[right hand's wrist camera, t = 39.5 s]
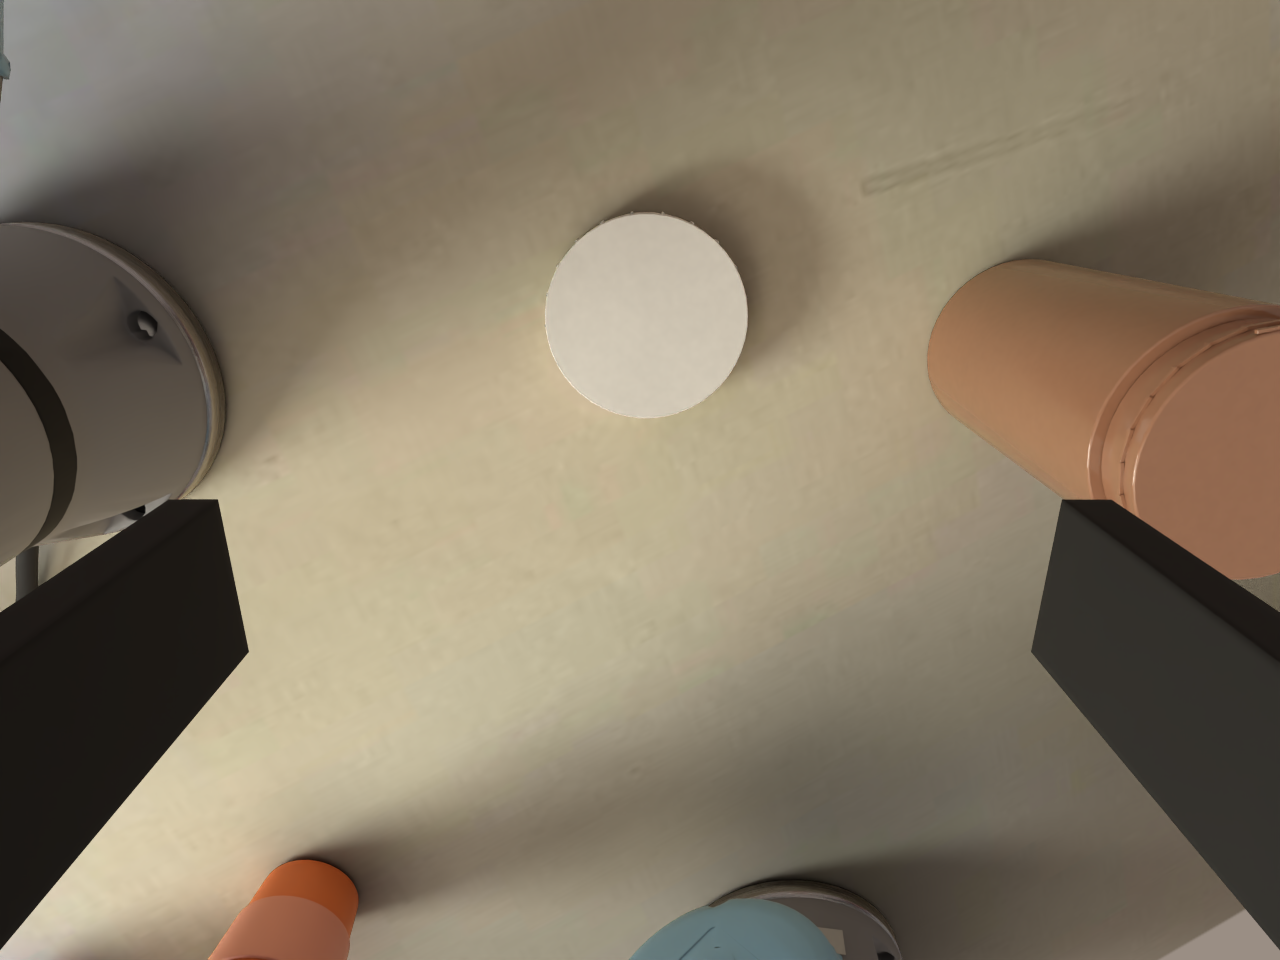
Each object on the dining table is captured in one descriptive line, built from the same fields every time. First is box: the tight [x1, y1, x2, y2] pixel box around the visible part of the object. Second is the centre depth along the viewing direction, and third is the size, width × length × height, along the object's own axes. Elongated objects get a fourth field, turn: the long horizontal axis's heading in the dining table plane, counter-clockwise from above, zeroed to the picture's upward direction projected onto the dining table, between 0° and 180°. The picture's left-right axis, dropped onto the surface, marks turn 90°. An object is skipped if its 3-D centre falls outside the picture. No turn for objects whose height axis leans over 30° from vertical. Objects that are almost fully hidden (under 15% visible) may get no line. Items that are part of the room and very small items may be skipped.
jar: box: [927, 259, 1280, 580], centre depth 31 cm, size 9×9×17 cm
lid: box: [545, 211, 748, 418], centre depth 38 cm, size 10×10×2 cm
